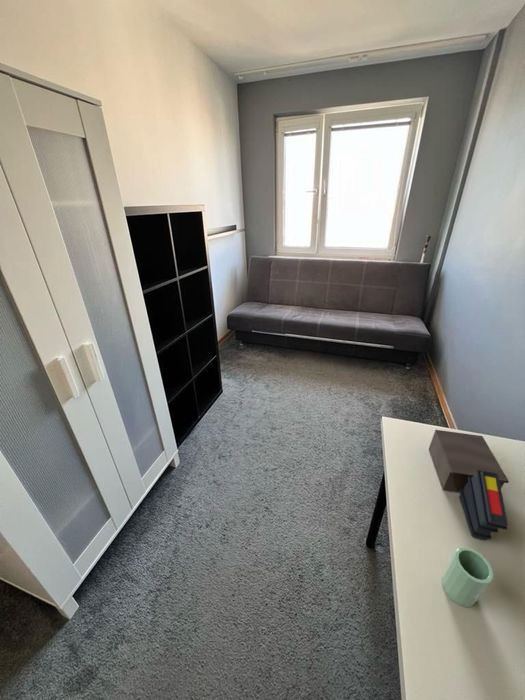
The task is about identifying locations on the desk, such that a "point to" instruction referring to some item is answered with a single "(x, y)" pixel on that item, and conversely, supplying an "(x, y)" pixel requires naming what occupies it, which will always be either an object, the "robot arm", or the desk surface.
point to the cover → (468, 454)
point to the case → (446, 469)
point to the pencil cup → (466, 576)
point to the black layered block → (483, 505)
